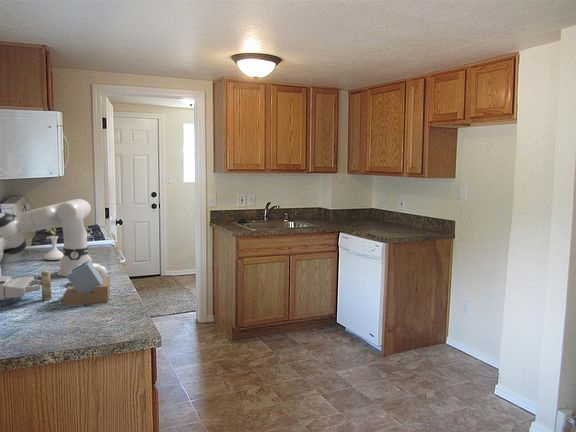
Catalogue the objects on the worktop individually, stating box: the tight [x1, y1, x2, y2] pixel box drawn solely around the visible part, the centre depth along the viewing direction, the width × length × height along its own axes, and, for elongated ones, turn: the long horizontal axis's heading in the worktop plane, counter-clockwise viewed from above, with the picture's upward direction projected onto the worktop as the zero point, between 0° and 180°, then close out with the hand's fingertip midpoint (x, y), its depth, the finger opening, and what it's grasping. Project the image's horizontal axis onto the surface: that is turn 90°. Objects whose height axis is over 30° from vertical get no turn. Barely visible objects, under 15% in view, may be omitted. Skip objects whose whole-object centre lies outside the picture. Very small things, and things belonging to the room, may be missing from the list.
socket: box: [62, 260, 111, 306], centre depth 201 cm, size 14×17×16 cm
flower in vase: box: [43, 226, 64, 261], centre depth 278 cm, size 13×11×25 cm
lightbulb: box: [95, 264, 108, 279], centre depth 218 cm, size 6×6×11 cm
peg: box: [40, 270, 52, 302], centre depth 199 cm, size 3×3×12 cm
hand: (41, 285), depth 199 cm, fingers open, 8 cm apart
